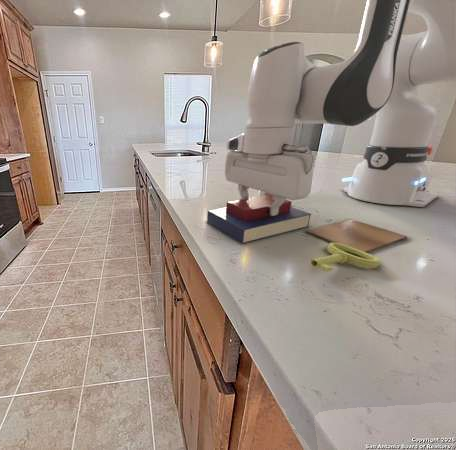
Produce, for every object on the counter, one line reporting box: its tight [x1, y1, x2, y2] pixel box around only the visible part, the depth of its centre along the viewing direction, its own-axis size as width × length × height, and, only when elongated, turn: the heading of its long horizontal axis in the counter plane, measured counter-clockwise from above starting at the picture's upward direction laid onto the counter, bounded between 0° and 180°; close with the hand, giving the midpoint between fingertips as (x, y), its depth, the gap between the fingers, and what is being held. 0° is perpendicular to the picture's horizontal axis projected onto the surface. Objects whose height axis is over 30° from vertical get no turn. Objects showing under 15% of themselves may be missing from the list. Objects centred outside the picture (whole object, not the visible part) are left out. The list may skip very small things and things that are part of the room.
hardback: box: [206, 206, 312, 244], centre depth 54 cm, size 18×12×3 cm, turn 113°
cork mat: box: [306, 218, 408, 253], centre depth 48 cm, size 14×10×1 cm
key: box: [309, 242, 381, 272], centre depth 38 cm, size 7×12×2 cm, turn 132°
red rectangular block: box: [225, 195, 293, 222], centre depth 53 cm, size 12×6×2 cm, turn 113°
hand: (257, 209), depth 53 cm, fingers closed on red rectangular block, 6 cm apart
